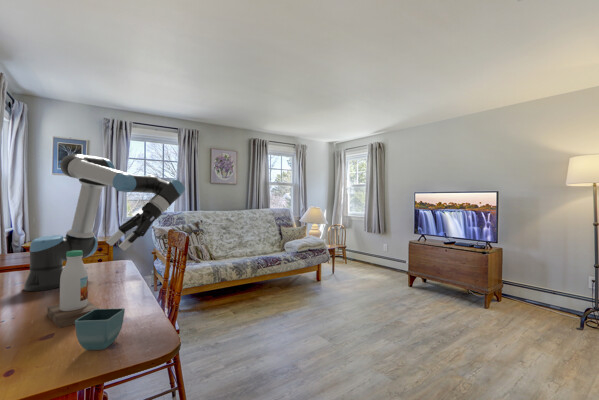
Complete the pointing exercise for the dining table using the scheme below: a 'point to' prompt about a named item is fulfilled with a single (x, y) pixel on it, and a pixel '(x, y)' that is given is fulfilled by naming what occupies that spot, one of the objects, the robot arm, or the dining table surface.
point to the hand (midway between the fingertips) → (114, 246)
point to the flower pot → (99, 328)
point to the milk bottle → (74, 283)
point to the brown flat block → (67, 314)
